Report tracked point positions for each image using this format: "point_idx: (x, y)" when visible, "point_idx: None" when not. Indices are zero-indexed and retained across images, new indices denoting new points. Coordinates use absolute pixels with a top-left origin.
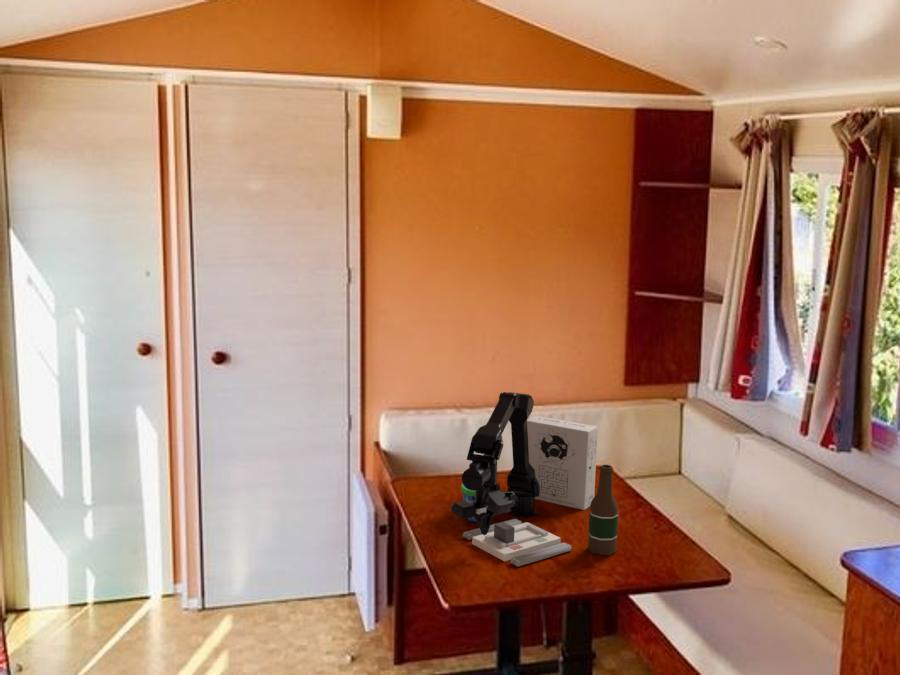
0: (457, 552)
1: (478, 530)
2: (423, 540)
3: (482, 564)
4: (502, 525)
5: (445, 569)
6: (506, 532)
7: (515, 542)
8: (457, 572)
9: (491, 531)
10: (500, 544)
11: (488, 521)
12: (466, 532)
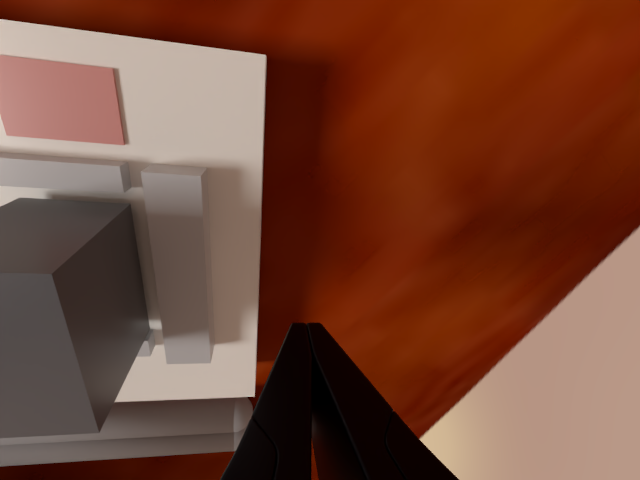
0: (389, 326)
1: (153, 441)
2: None
3: (418, 132)
4: (24, 380)
5: (596, 214)
6: (61, 255)
7: (19, 163)
8: (602, 144)
9: None
10: (202, 195)
11: (309, 456)
12: (235, 444)
